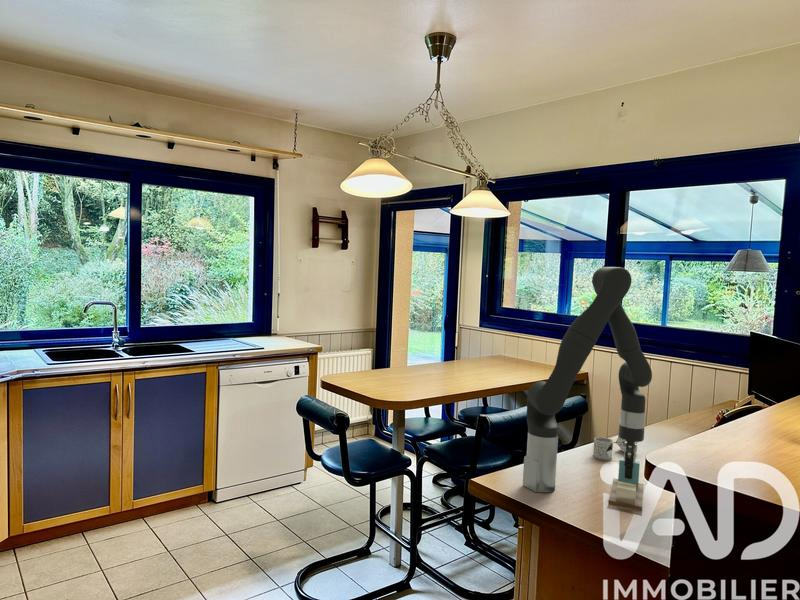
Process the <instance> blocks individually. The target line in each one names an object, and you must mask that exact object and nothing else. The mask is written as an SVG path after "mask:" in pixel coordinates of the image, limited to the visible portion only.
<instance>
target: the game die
mask: <svg viewBox="0 0 800 600" xmlns="http://www.w3.org/2000/svg"><path fill="white" fill-rule="evenodd" d="M624 442H625V443H627V441H626V440H623V439H621V438H620V437H619V435H617V439H616V440H615V441H613V444H616V445H618V447H619V448H620V450H622V451H623V454H624V449H623V448H624ZM635 444H637V445H638V442H635Z"/></svg>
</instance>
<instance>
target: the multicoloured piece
mask: <svg viewBox="0 0 800 600" xmlns="http://www.w3.org/2000/svg"><path fill="white" fill-rule="evenodd" d="M624 463H625V459H624V458H620V457H619V463H618V477H617V478H615V477H613V479H612V484H611V487H610V488H611V489H610V492H609V499H608V501H607V509H609V510H615V511H617V512H623V513H628V514H631V515H632V514H633V515H637V516H641V517H643V504H644V503H643V501H644V485H645V484H644V483H639V478H640V464H641V463H640V461H637V460H635V461H633V465H634V467H633V471H632V479H627V478H625V465H624ZM627 463H631V462H627ZM631 464H632V463H631ZM618 481H619V482H624V483H629V484H634V485H636V496H635V505H632V504H628V503H623V502H618V501H616V493H617V484H618Z"/></svg>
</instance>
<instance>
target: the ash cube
mask: <svg viewBox="0 0 800 600" xmlns="http://www.w3.org/2000/svg"><path fill="white" fill-rule="evenodd" d="M635 496H636V485H634V484H629V483H624V482H619V481H618V484H617V493H616V501H618V502H623V503H628V504H632V505H635Z"/></svg>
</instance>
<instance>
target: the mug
mask: <svg viewBox="0 0 800 600" xmlns="http://www.w3.org/2000/svg"><path fill="white" fill-rule="evenodd" d="M613 444H614V440H613V439H611V438H608V437H601V436H596V437H594V439H593V449H592V450H593V452H592V453H593V455H592V456H593V458H595V459H598V460H603V461H610V460H612V459H613V448H614V447H613V446H614V445H613Z"/></svg>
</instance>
